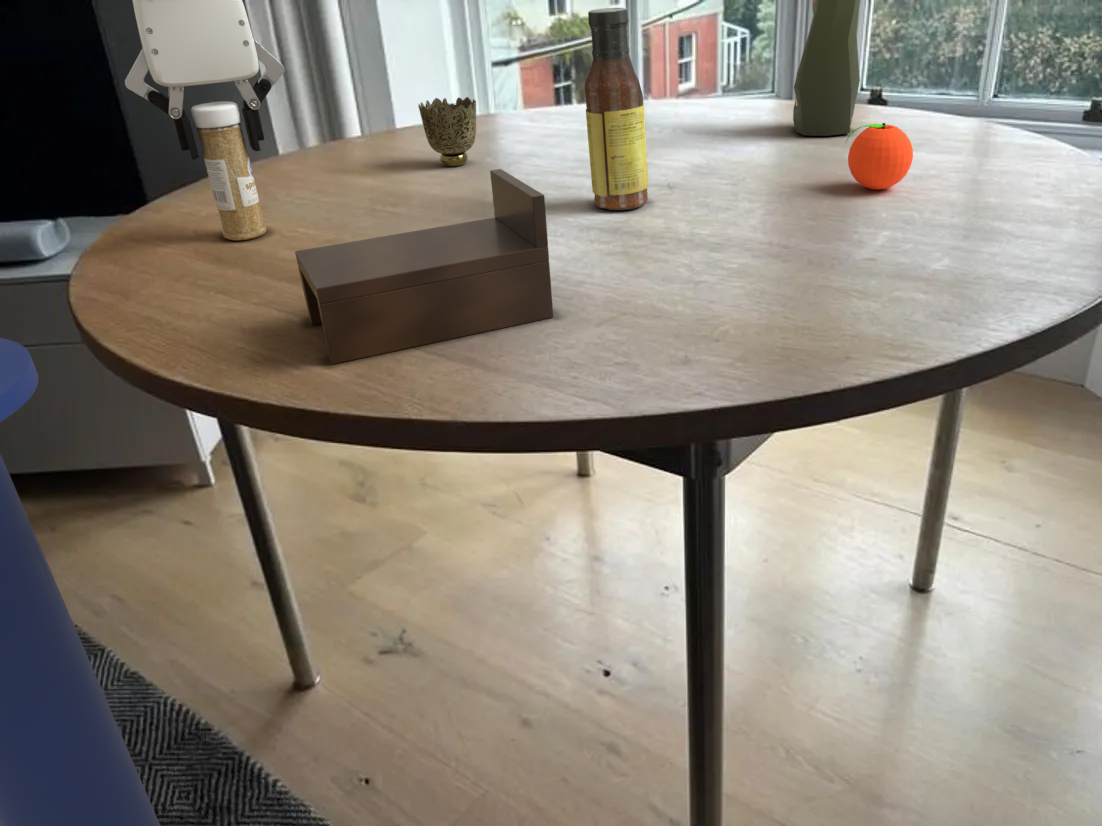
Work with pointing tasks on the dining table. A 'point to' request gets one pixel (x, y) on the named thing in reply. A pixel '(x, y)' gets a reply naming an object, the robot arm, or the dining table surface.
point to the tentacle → (828, 70)
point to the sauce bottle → (615, 116)
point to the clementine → (880, 156)
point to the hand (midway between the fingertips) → (224, 151)
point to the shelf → (433, 279)
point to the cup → (450, 128)
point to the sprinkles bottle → (229, 169)
